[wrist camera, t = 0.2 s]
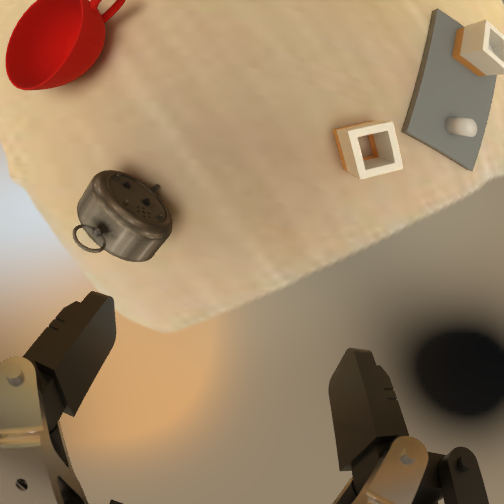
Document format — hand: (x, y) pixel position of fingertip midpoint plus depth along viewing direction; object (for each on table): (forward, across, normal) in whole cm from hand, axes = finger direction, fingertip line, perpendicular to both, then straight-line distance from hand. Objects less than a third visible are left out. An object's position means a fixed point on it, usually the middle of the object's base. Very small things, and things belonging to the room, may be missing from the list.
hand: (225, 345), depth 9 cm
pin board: (+28, -23, -20) cm, 42 cm away
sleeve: (+28, -11, -7) cm, 31 cm away
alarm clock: (+28, +13, +5) cm, 32 cm away
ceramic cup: (+28, +26, -16) cm, 42 cm away
